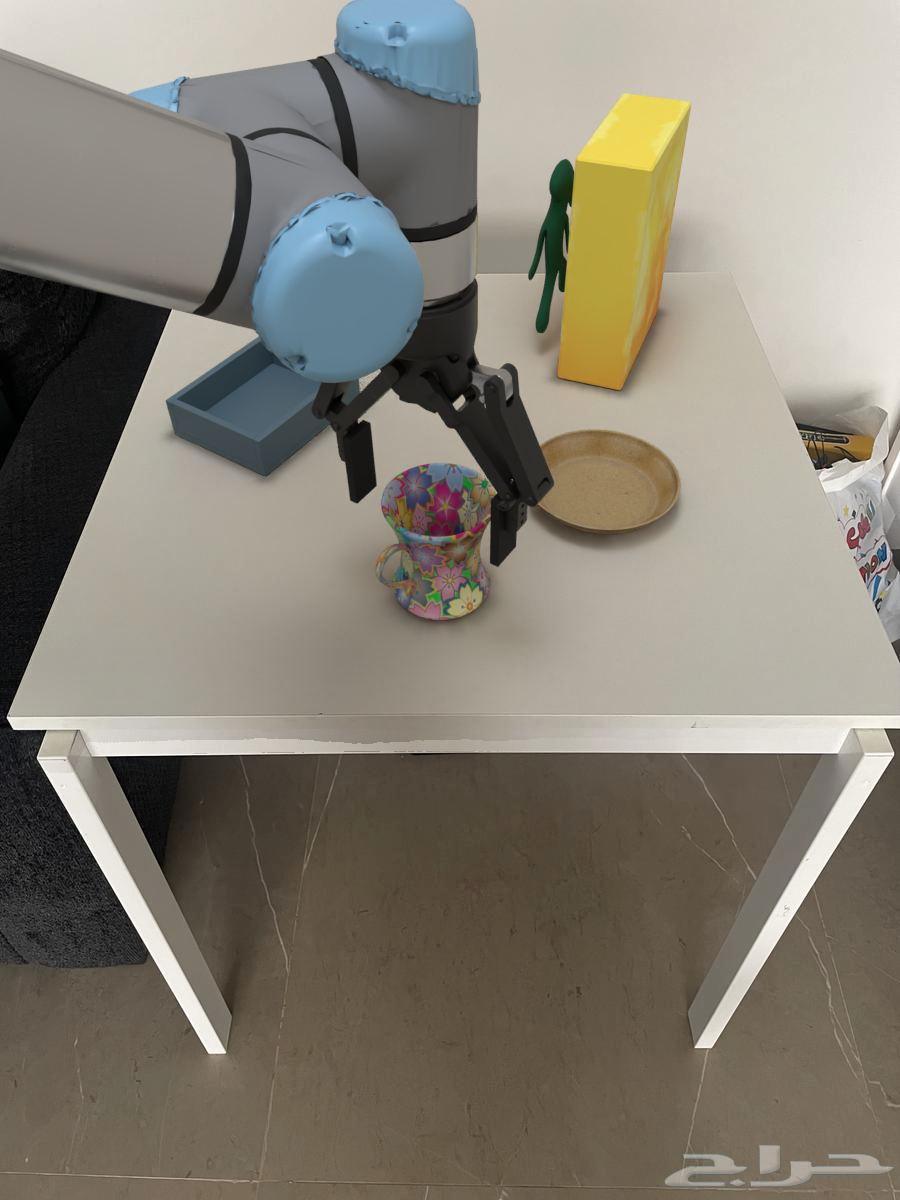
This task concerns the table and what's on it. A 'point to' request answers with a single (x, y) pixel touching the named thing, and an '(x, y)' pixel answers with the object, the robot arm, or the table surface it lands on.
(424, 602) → the mug
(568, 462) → the plant saucer
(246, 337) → the table surface
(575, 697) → the table surface
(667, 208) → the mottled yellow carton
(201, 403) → the tub
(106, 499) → the table surface
